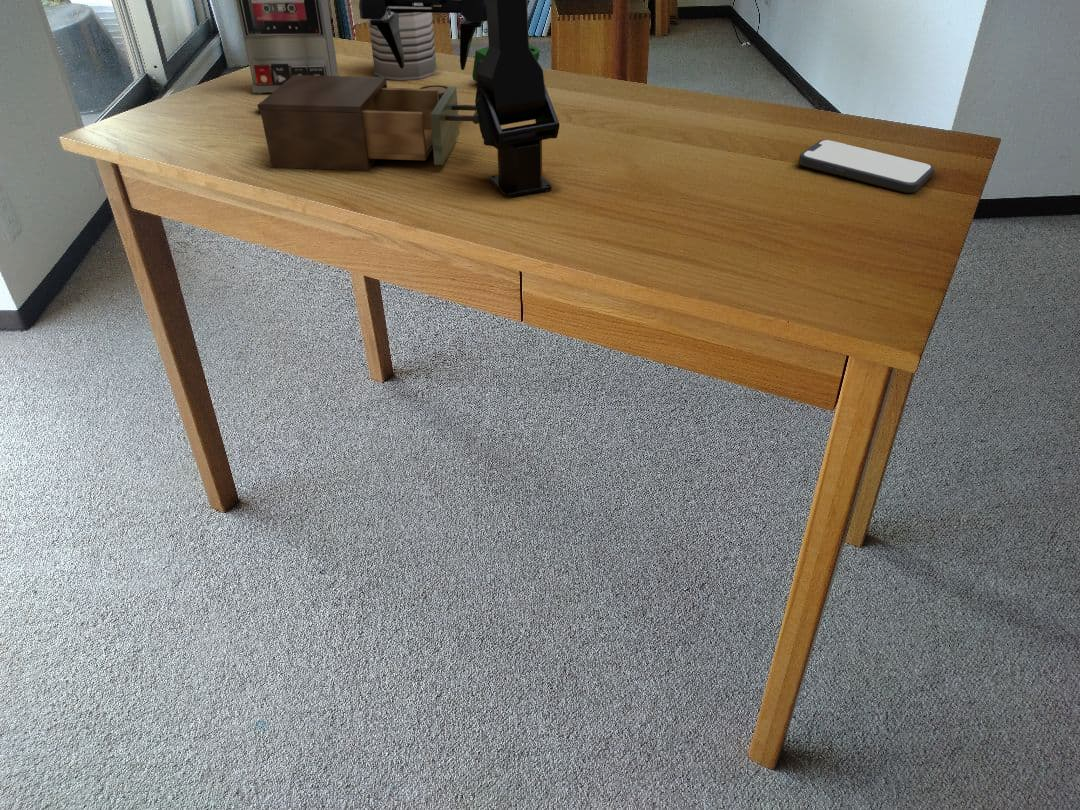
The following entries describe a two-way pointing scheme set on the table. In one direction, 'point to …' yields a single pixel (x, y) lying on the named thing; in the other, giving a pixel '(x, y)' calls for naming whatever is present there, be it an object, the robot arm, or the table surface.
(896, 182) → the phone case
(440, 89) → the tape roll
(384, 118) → the drawer
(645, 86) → the table surface
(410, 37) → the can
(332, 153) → the cabinet
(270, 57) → the cassette tape recorder
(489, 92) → the robot arm
